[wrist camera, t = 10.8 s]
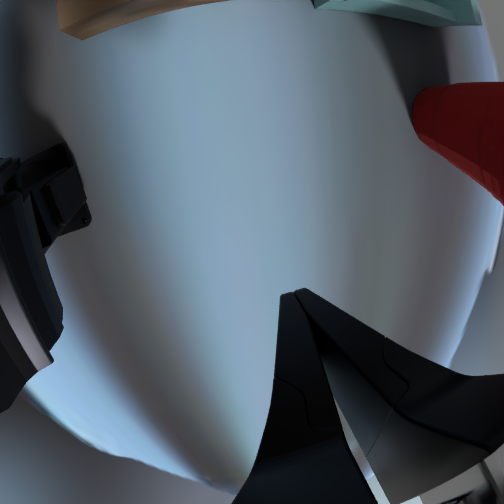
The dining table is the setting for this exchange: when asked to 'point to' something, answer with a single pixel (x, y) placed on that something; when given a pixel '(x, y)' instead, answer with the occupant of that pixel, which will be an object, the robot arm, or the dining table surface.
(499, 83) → the plastic cup
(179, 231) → the dining table surface
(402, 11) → the box
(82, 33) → the walnut plate
